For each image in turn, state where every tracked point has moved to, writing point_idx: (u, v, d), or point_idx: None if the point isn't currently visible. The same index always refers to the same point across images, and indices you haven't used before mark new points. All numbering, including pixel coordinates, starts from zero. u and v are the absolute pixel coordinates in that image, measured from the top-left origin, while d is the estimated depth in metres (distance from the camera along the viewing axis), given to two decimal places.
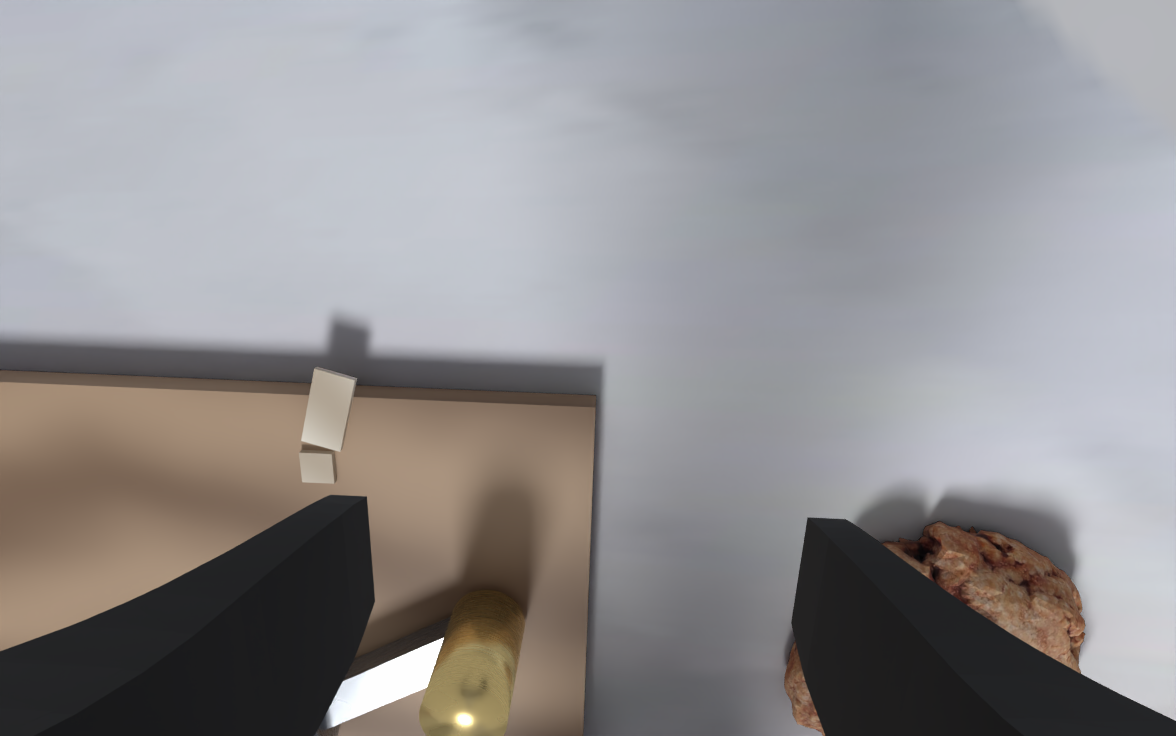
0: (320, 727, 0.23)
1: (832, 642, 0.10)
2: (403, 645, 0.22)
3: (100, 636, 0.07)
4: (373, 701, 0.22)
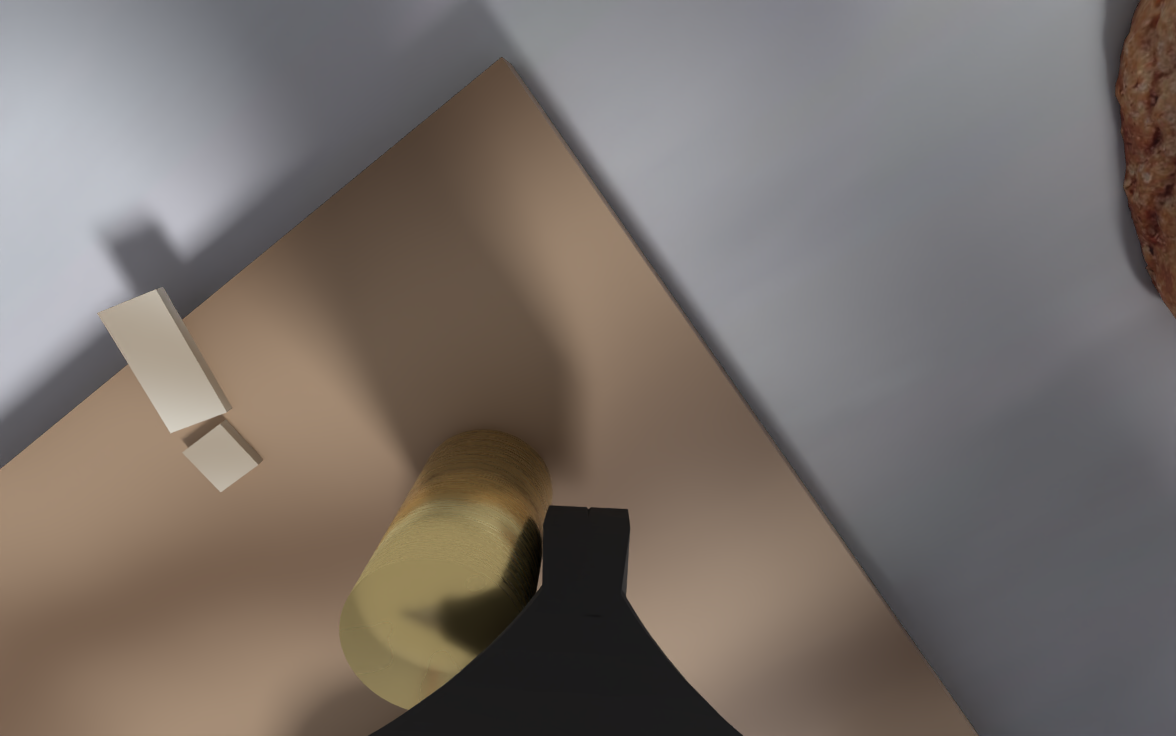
0: None
1: None
2: None
3: (532, 660, 0.06)
4: None
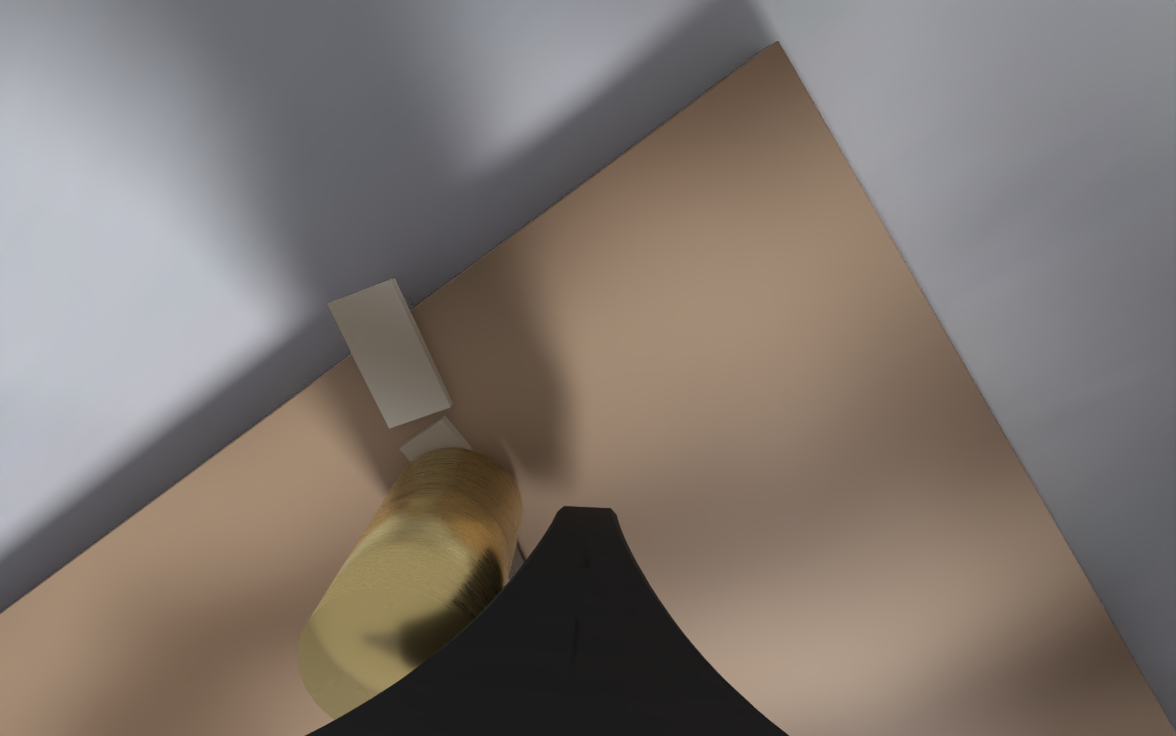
0: None
1: None
2: None
3: (489, 658, 0.07)
4: None
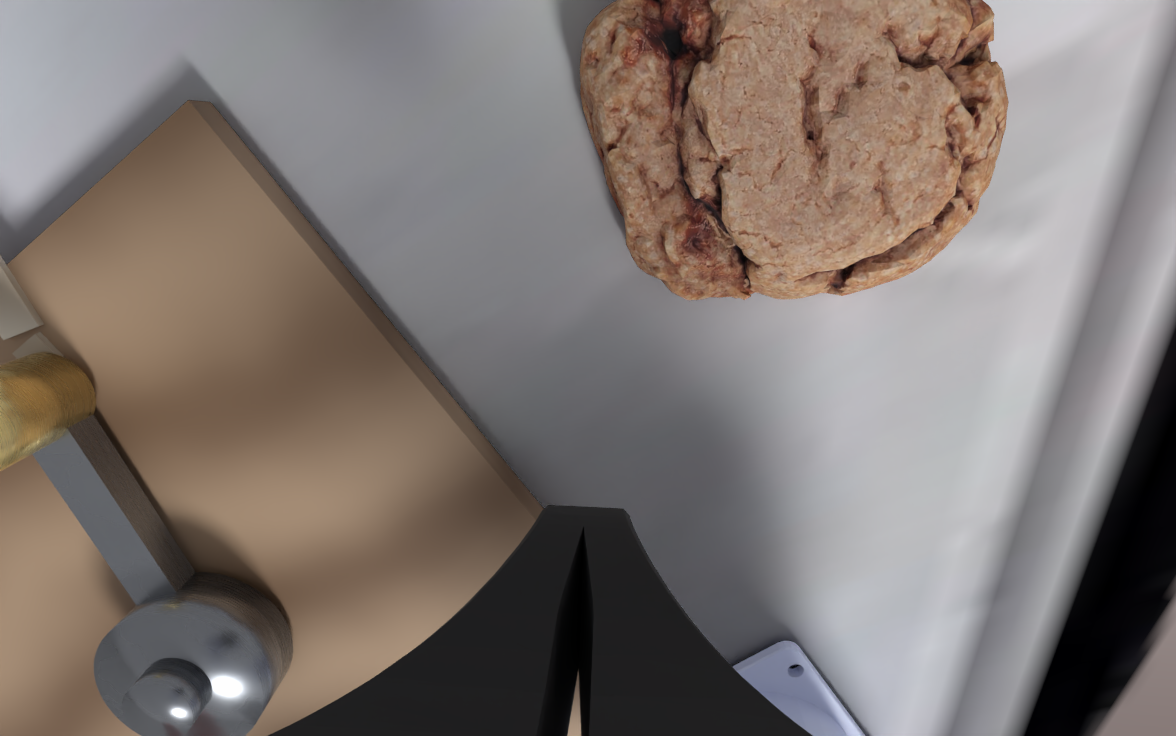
0: (168, 594, 0.20)
1: (582, 629, 0.10)
2: None
3: (463, 657, 0.07)
4: (128, 534, 0.20)
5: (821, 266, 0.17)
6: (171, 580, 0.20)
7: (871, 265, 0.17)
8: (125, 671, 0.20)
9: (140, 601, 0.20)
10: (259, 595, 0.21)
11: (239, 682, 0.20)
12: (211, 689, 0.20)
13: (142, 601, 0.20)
